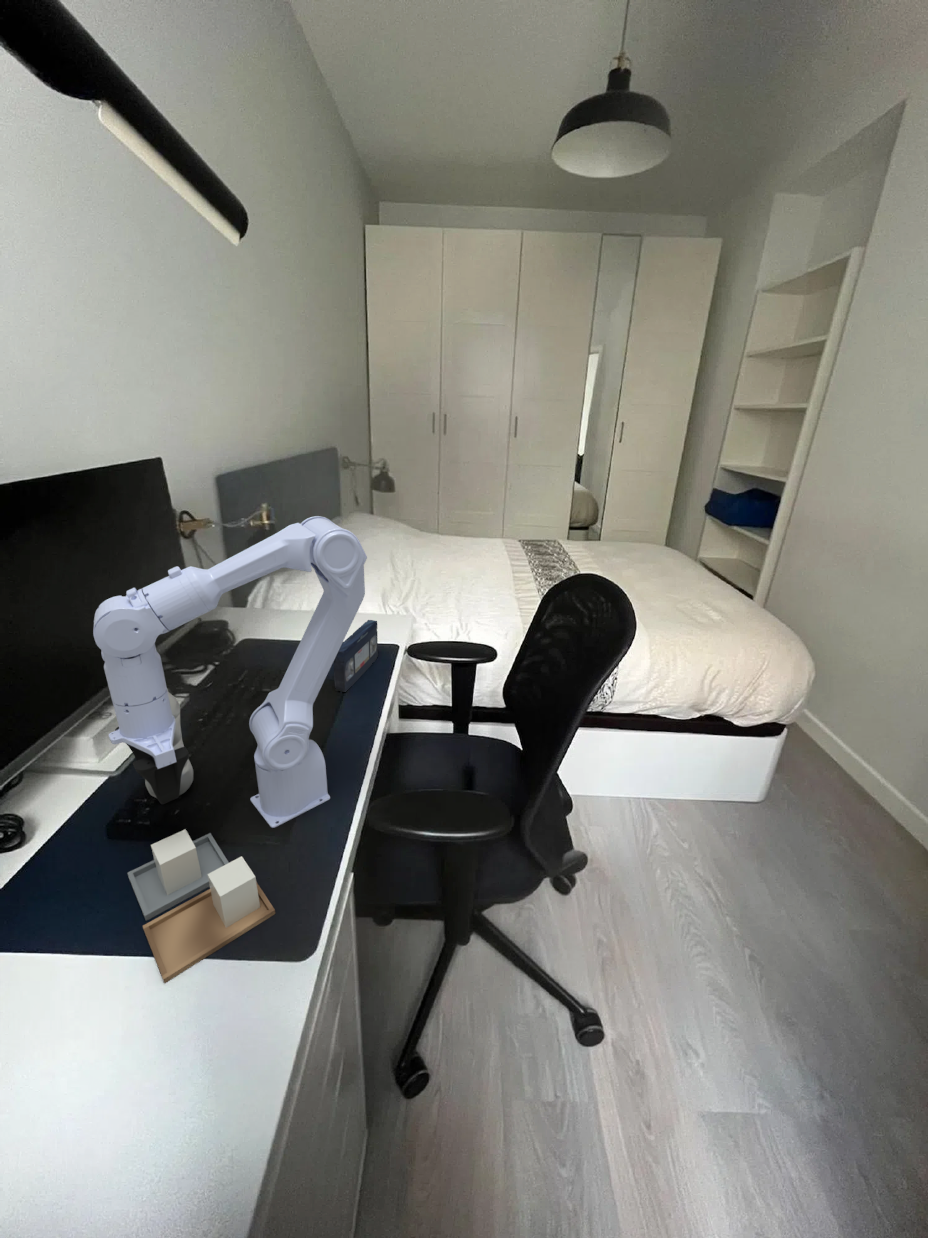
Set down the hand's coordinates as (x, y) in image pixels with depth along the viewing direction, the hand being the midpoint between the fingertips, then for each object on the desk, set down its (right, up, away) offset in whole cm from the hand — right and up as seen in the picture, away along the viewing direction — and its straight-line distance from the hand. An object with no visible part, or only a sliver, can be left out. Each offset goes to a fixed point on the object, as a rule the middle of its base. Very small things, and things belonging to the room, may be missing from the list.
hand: (160, 784), depth 67 cm
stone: (+12, -13, -5) cm, 19 cm away
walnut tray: (+10, -14, -7) cm, 19 cm away
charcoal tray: (+4, -12, -2) cm, 12 cm away
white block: (+4, -11, -2) cm, 12 cm away
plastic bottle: (-6, -5, +13) cm, 15 cm away
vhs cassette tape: (+15, +9, +51) cm, 54 cm away
